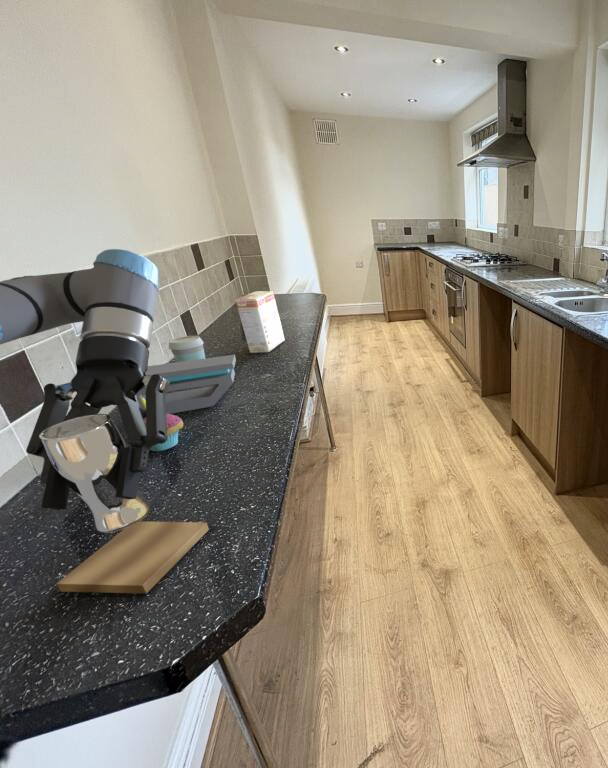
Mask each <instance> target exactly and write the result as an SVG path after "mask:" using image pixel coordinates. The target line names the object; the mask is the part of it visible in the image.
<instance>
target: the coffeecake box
mask: <svg viewBox="0 0 608 768" xmlns="http://www.w3.org/2000/svg"><path fill="white" fill-rule="evenodd" d="M274 293H275V292H274V291H273V290H270V291H269V290H267V291H266V290H265V291H264V290H263V291H262V290H258V291H253V292H251V293H248V294H246V295H244V296H241V297H238V298H235V300H234V301H235V303H236V308H237V311H238V314H239V318H240V321H241V325H242V329H243V332H244V336H245V340H246V343H247V347H248V351H249V353H250V354H258V353H270V352H271V351H273V350H274V349H275V348H277V347H278V346H279V345H280V344H282V343H283V342H285V341H286V339H285V336H284V335H285V334H284V331H283V326H282V322H281V318H280V314H279V310H278V305H277V301H276V298H275V294H274Z"/></svg>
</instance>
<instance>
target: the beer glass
mask: <svg viewBox="0 0 608 768" xmlns="http://www.w3.org/2000/svg"><path fill="white" fill-rule="evenodd" d="M122 435H123V434H121V432H120V430H119V428H118V427H117V426H116V424H115V422H114V421H113V419H112V417H111V415H110V414H107V413H98V414H92V415H85V416H81V417H76V418H73V419H69V420H66V421H63V422H60V423H58V424H55V425H53V426H51V427H49V428H47V429H46V430H44V431H43V432H42V433H41V434H40V435H39V437H40V439H41V441H42V443H43V445H44V448H45V450H46V453H47V455H48V457H49V459H50V461H51V463H52V465H53V467H54V468H55V470H56V471H57V473H58V474H59V476H60V477H61V478H62V479H63V480H64V482H65V483H66V484H67V485H68V486H69V487H70V490H72V491H73V492H74V493H75V494H76V495H77V496H78V497H79V498H80V500H82V501H83V502H84V504H85V506H87V508H88V510H89V512H90V515H91V518H92V522H93V523H92V524H93V527H94V529H95V531H96V532H98V533H102V534H110V533H115V532H118V531H123V530H124V529H125V528H127V527H130V526H132V525H134V524H136V523H137V522H139V521H142V520H143V519H145V518H146V517H147V516H148V515H149V514H150V513H151V511H152V505H151V502H150V501H149V500H148V499H147V498H146V497H145V496H144V494H143V493H142V492H141V490H140V488H139V487H138V488H137V496H136V499H130V500H129V499H124V498H119V497H116V490H117V483H118V476H119V469H120V462H121V455H122V448H124V447H128V444H127V442H126V441H125V439H124V437H123V436H122Z"/></svg>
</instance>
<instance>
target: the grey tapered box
mask: <svg viewBox="0 0 608 768" xmlns="http://www.w3.org/2000/svg"><path fill="white" fill-rule="evenodd" d="M236 362H237V359H236V354H229V355H221V356H214V357H205V359H198V360H190V361H183V362H177V361H176V362H169V363H162V364H154V365H148V367H147V371H146V372H145V374H146V376H152V375H154V374H158V375H160V376H161V377H163V378H164V379H166V380H167V381H169V383H170V384H169V387H168V390H167V392H166V395H165V400H166V414H172V415H173V414H178V413H181V412H189V411H194V410H199V409H205V408H210V407H211V408H212V407H214V406H215V405H216V404H217V402H218V401H219V400H220V399H221V398H222V397H223V396H224V394H226V392H227V391H228V390H229V389H230V387H231V386H232V385H233V384H234V381H235V376H236V372H235V365H236ZM140 395H141V396H142V398H144V399H145V401H146V389H145V386H144V387H143V388H142V389H141V390H140V391H139V392H138V393H137V394H136V397H137V399H138V402H139V405H140V407H139V409H142V410H143V411H146V410H145V408H144V406H143V404H142V402H141V400H140V399H141V397H140Z"/></svg>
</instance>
